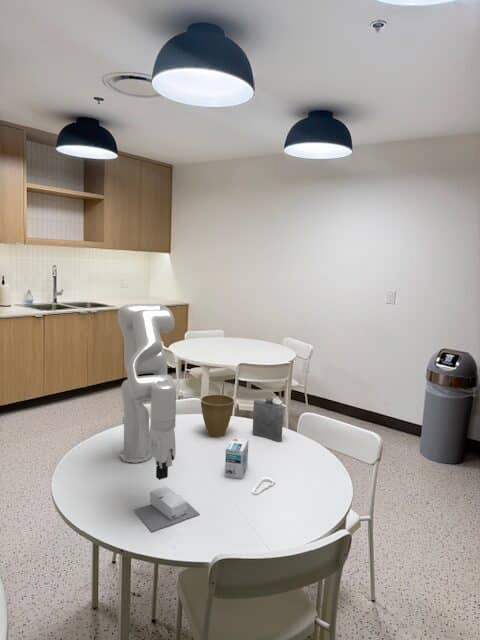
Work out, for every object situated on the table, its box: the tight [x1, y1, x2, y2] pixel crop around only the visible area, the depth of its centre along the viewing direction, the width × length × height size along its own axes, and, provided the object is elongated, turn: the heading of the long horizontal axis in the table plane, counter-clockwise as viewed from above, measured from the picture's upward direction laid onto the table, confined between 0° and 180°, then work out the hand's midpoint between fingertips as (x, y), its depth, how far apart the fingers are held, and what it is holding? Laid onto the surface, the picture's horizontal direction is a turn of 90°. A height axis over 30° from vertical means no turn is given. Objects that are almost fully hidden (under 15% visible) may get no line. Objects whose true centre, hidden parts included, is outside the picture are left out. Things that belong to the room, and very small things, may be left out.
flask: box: [251, 397, 284, 443], centre depth 198 cm, size 4×14×18 cm, turn 58°
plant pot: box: [200, 394, 235, 438], centre depth 199 cm, size 15×15×16 cm
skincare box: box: [149, 485, 188, 520], centre depth 140 cm, size 6×4×12 cm
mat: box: [133, 494, 200, 533], centre depth 139 cm, size 13×16×1 cm
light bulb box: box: [224, 437, 249, 480], centre depth 166 cm, size 11×7×11 cm, turn 168°
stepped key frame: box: [250, 476, 276, 496], centre depth 156 cm, size 13×5×2 cm, turn 155°
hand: (161, 477), depth 140 cm, fingers closed
